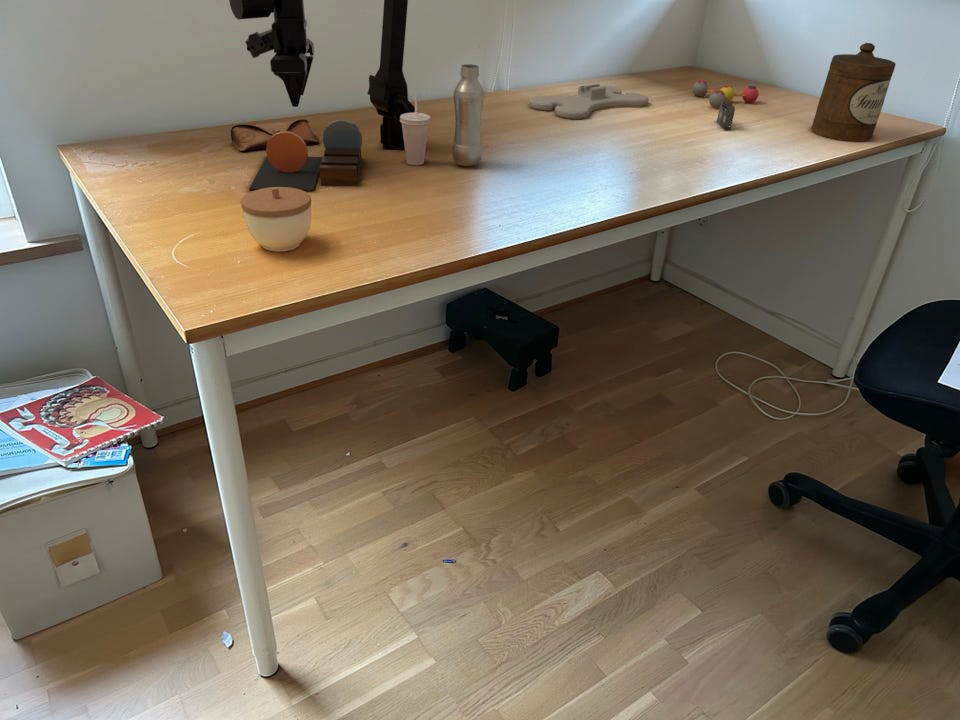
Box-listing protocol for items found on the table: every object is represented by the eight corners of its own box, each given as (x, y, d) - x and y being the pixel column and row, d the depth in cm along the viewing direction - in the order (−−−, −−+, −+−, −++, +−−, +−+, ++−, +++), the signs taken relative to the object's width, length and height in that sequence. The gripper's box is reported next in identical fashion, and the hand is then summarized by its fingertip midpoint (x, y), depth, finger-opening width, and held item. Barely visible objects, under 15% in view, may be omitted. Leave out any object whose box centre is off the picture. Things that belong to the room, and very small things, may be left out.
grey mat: (323, 158, 156) (323, 156, 156) (313, 191, 140) (313, 189, 140) (266, 157, 155) (266, 156, 155) (249, 190, 139) (248, 188, 138)
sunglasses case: (240, 150, 157) (233, 119, 156) (235, 159, 163) (228, 129, 162) (321, 141, 165) (314, 112, 164) (313, 150, 171) (307, 121, 170)
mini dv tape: (730, 130, 189) (735, 106, 186) (724, 130, 189) (729, 106, 186) (722, 122, 196) (727, 98, 193) (716, 121, 196) (721, 98, 193)
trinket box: (233, 250, 116) (224, 193, 111) (272, 226, 125) (265, 172, 120) (291, 263, 113) (284, 205, 108) (327, 237, 122) (323, 183, 117)
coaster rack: (328, 159, 156) (327, 143, 154) (361, 160, 157) (360, 143, 155) (320, 185, 143) (319, 167, 141) (357, 185, 143) (356, 168, 142)
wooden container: (855, 145, 182) (885, 50, 170) (800, 131, 191) (825, 40, 180) (882, 135, 191) (912, 45, 179) (827, 122, 200) (853, 35, 188)
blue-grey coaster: (324, 157, 154) (321, 118, 150) (363, 158, 155) (361, 119, 150) (324, 159, 153) (321, 120, 149) (362, 160, 154) (361, 121, 149)
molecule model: (689, 94, 222) (692, 78, 219) (743, 95, 224) (746, 79, 221) (711, 109, 207) (714, 92, 204) (769, 110, 209) (773, 93, 206)
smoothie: (407, 168, 153) (406, 99, 146) (395, 159, 158) (394, 92, 150) (435, 165, 156) (435, 97, 148) (423, 156, 161) (423, 90, 153)
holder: (654, 104, 209) (657, 86, 206) (571, 121, 190) (574, 101, 187) (604, 90, 221) (606, 73, 218) (521, 105, 202) (523, 86, 199)
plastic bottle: (486, 162, 159) (490, 64, 148) (475, 171, 154) (479, 71, 143) (458, 158, 161) (460, 61, 150) (447, 167, 155) (448, 67, 144)
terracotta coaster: (269, 170, 148) (265, 130, 143) (309, 171, 148) (306, 131, 144) (268, 172, 147) (264, 131, 142) (308, 173, 147) (305, 133, 143)
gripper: (253, 7, 145) (264, 89, 154) (236, 23, 130) (248, 112, 138) (310, 8, 146) (318, 89, 155) (300, 24, 131) (308, 113, 139)
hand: (298, 100), depth 147 cm, fingers open, 9 cm apart
